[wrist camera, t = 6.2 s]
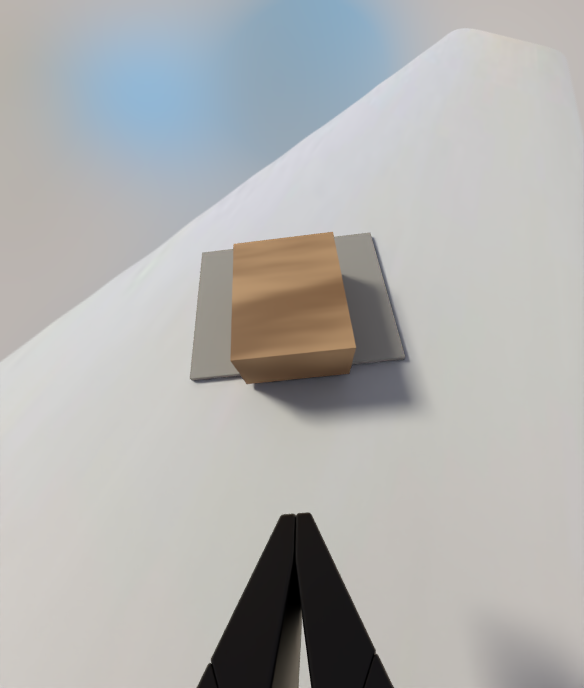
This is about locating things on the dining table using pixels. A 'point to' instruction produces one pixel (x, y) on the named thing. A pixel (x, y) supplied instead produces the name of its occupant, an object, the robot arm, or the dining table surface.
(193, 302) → the dining table surface
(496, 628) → the dining table surface
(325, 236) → the walnut block
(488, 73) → the dining table surface
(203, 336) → the mat
